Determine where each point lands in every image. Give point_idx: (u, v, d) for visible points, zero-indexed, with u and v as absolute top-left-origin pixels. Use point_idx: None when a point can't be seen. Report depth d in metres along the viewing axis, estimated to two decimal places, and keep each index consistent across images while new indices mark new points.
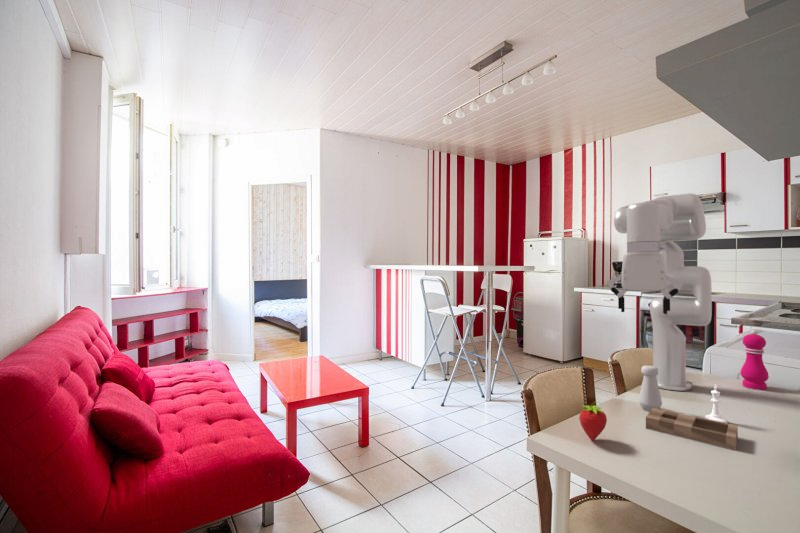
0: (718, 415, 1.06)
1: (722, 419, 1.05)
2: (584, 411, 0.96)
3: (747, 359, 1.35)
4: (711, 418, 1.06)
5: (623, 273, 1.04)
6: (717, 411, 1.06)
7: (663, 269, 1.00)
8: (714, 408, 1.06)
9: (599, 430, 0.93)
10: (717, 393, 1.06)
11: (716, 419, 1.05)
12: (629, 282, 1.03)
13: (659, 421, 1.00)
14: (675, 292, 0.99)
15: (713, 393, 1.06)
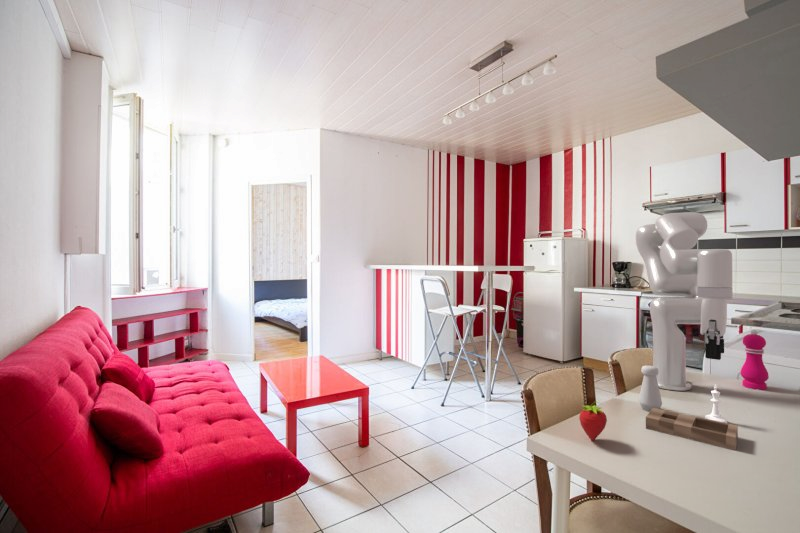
0: (718, 415, 1.06)
1: (722, 419, 1.05)
2: (584, 411, 0.96)
3: (747, 359, 1.35)
4: (711, 418, 1.06)
5: (722, 319, 1.02)
6: (717, 411, 1.06)
7: None
8: (714, 408, 1.06)
9: (599, 430, 0.93)
10: (717, 393, 1.06)
11: (716, 419, 1.05)
12: (724, 328, 1.03)
13: (659, 421, 1.00)
14: None
15: (713, 393, 1.06)
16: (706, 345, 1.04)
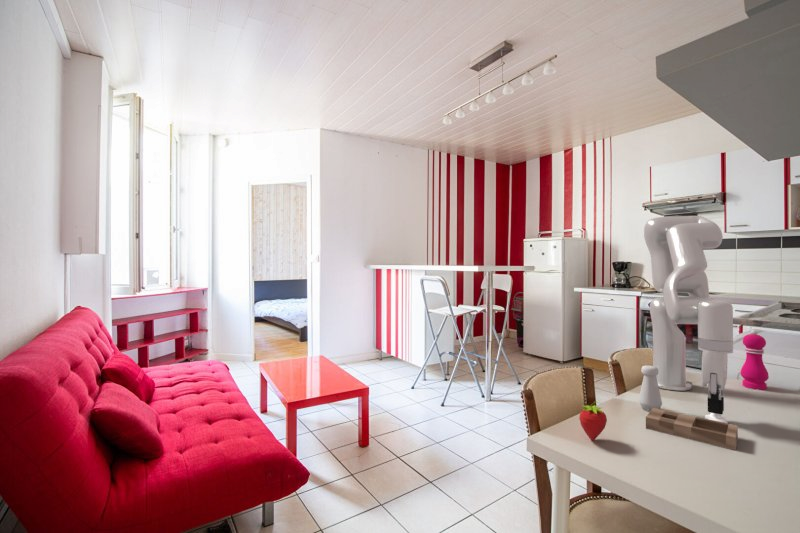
0: (718, 415, 1.06)
1: (722, 419, 1.05)
2: (584, 411, 0.96)
3: (747, 359, 1.35)
4: (711, 418, 1.06)
5: (722, 373, 1.02)
6: None
7: None
8: None
9: (599, 430, 0.93)
10: None
11: (716, 419, 1.05)
12: (724, 381, 1.03)
13: (659, 421, 1.00)
14: None
15: None
16: (708, 399, 1.06)
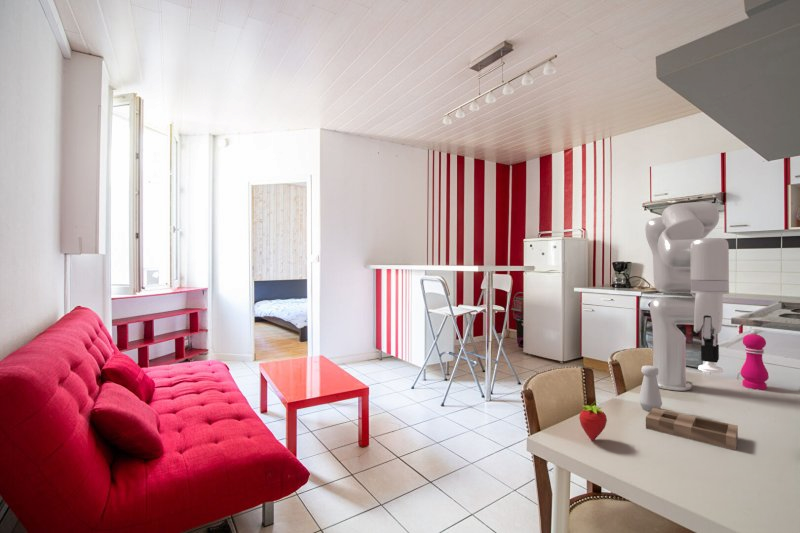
0: (713, 364, 0.96)
1: (717, 368, 0.95)
2: (584, 411, 0.96)
3: (747, 359, 1.35)
4: (705, 367, 0.96)
5: (717, 315, 0.92)
6: None
7: None
8: None
9: (599, 430, 0.93)
10: None
11: (711, 368, 0.95)
12: (719, 325, 0.93)
13: (659, 421, 1.00)
14: None
15: None
16: (702, 347, 0.96)
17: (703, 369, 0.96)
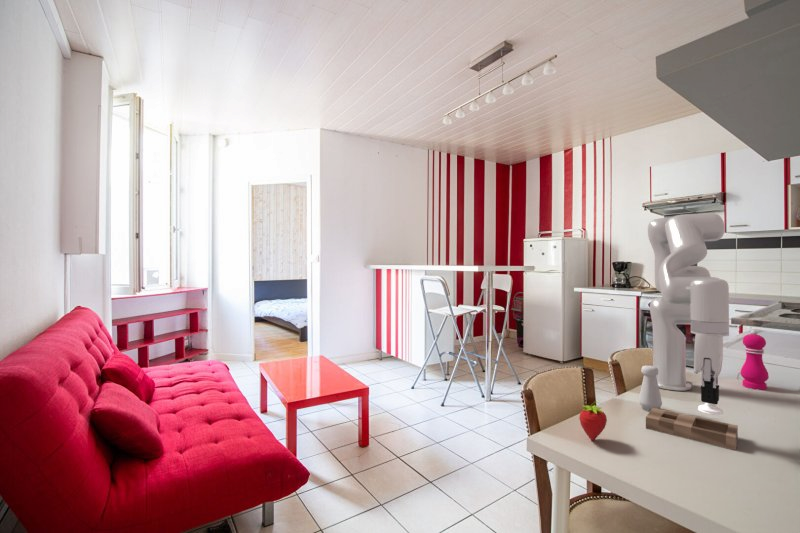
0: (713, 405, 0.95)
1: (717, 409, 0.95)
2: (584, 411, 0.96)
3: (747, 359, 1.35)
4: (705, 408, 0.96)
5: (717, 358, 0.92)
6: None
7: None
8: None
9: (599, 430, 0.93)
10: None
11: (711, 409, 0.95)
12: (719, 367, 0.93)
13: (659, 421, 1.00)
14: None
15: None
16: (702, 388, 0.96)
17: (703, 410, 0.96)
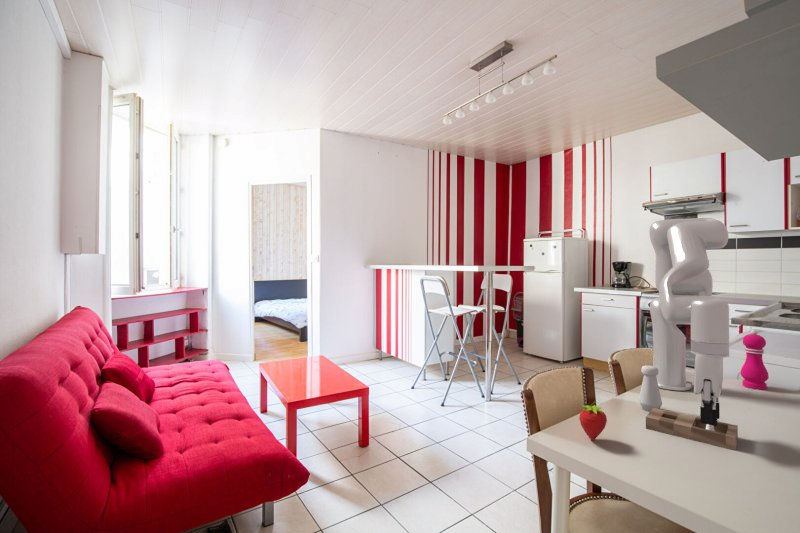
0: None
1: None
2: (584, 411, 0.96)
3: (747, 359, 1.35)
4: None
5: (717, 379, 0.92)
6: (711, 427, 0.96)
7: None
8: None
9: (599, 430, 0.93)
10: None
11: None
12: (719, 388, 0.93)
13: (659, 421, 1.00)
14: None
15: None
16: (701, 409, 0.95)
17: None
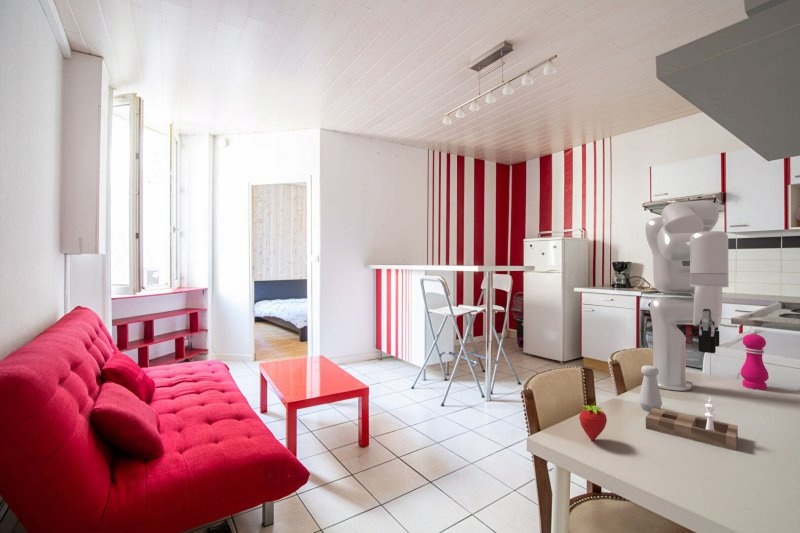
0: None
1: None
2: (584, 411, 0.96)
3: (747, 359, 1.35)
4: None
5: (717, 309, 0.92)
6: (711, 427, 0.96)
7: None
8: (708, 423, 0.96)
9: (599, 430, 0.93)
10: (711, 407, 0.96)
11: None
12: (719, 318, 0.93)
13: (659, 421, 1.00)
14: None
15: (707, 407, 0.96)
16: (699, 337, 0.94)
17: None
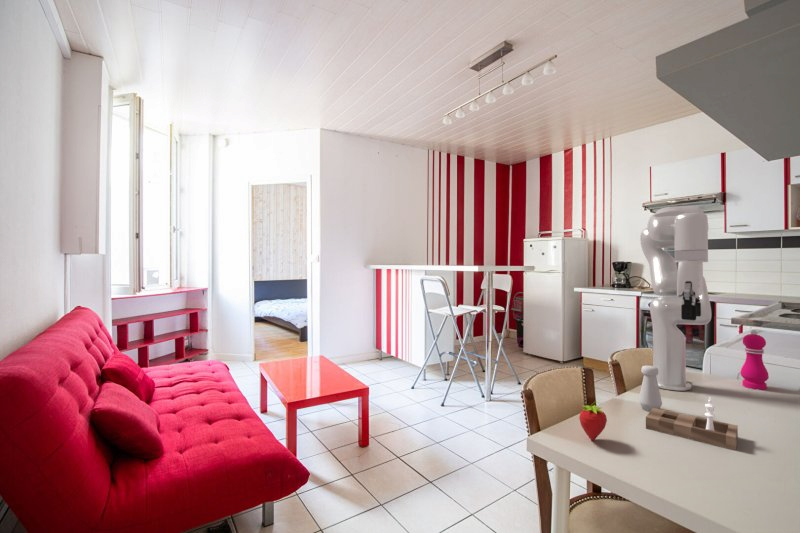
0: None
1: None
2: (584, 411, 0.96)
3: (747, 359, 1.35)
4: None
5: (697, 281, 1.04)
6: (711, 427, 0.96)
7: None
8: (708, 423, 0.96)
9: (599, 430, 0.93)
10: (711, 407, 0.96)
11: None
12: (699, 289, 1.05)
13: (659, 421, 1.00)
14: None
15: (707, 407, 0.96)
16: (682, 306, 1.06)
17: None
